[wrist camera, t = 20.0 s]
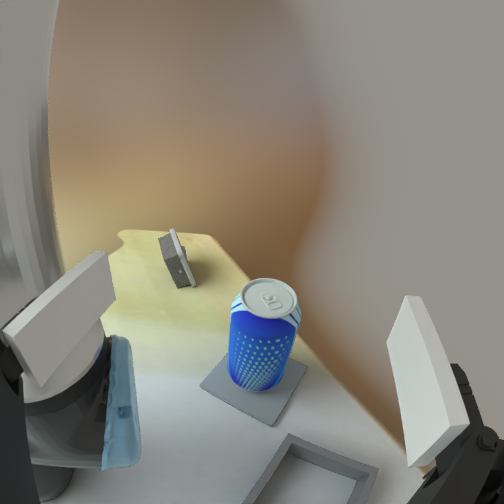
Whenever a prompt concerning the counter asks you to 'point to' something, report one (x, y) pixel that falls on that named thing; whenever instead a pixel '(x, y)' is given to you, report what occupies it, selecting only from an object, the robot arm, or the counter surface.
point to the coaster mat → (250, 402)
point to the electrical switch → (176, 259)
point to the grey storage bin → (322, 459)
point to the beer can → (262, 333)
